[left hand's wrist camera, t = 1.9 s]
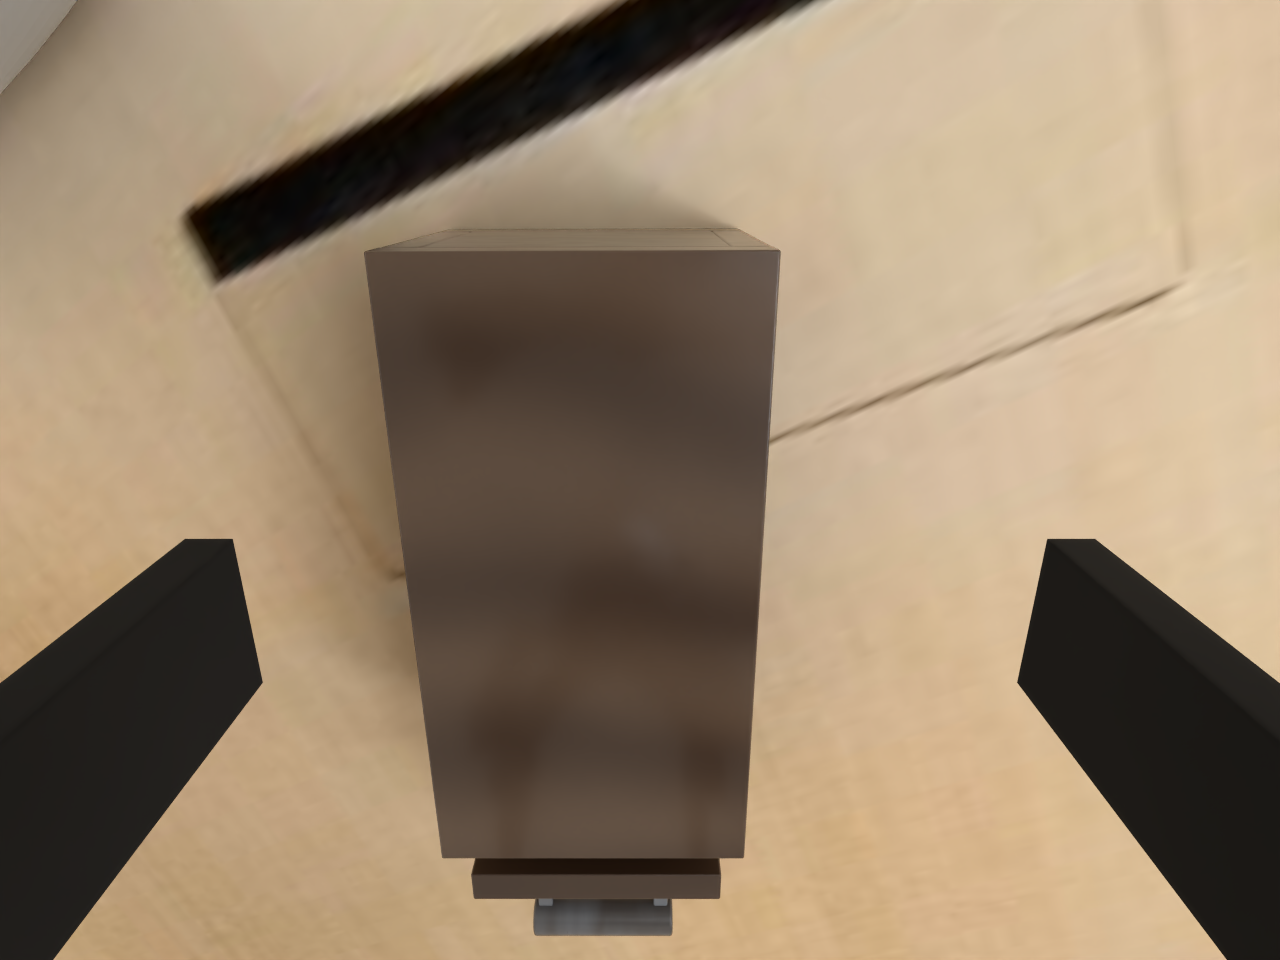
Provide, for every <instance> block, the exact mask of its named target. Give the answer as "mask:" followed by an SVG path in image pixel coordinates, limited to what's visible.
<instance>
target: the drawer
mask: <svg viewBox="0 0 1280 960" xmlns="http://www.w3.org/2000/svg"><path fill="white" fill-rule="evenodd" d="M471 877H472V886H473V894H474V898H475V899H535V905H534V919H533V927H534V934H535V935H536V936H671V935H672V899H719V898H720V887H721V870H720V861H719V858H475V862H474V866H473V870H472V874H471Z"/></svg>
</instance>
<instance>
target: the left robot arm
mask: <svg viewBox="0 0 1280 960" xmlns="http://www.w3.org/2000/svg"><path fill="white" fill-rule="evenodd" d="M262 683H263V682H262V677H261V672H260V667H259V662H258V658H257V653H256V648H255V643H254V639H253V634H252V629H251V624H250V620H249V615H248V610H247V605H246V600H245V596H244V591H243V586H242V581H241V577H240V572H239V567H238V562H237V558H236V553H235V548H234V543H233V539H184V540H183V541H182V542H181V543H179V544H178V545H177V546H175V547H174V548H173V549H172V550H170V551H169V552H168V553H167V554H165V555H164V556H163V557H161V558H160V559H159V560H158V561H156V562H155V563H154V564H152V565H151V566H150V567H149V568H147V569H146V570H145V571H143V572H142V573H141V574H140V575H138V576H137V577H136V578H134V579H133V580H132V581H131V582H129V583H128V584H127V585H126V586H124V587H123V588H122V589H120V590H119V591H118V592H117V593H115V594H114V595H113V596H111V597H110V598H109V599H108V600H106V601H105V602H104V603H102V604H101V605H100V606H99V607H97V608H96V609H95V610H94V611H92V612H91V613H90V614H88V615H87V616H86V617H85V618H83V619H82V620H81V621H79V622H78V623H77V624H76V625H74V626H73V627H72V628H70V629H69V630H68V631H67V632H65V633H64V634H63V635H61V636H60V637H59V638H58V639H56V640H55V641H54V642H53V643H51V644H50V645H49V646H47V647H46V648H45V649H44V650H42V651H41V652H40V653H38V654H37V655H36V656H35V657H33V658H32V659H31V660H29V661H28V662H27V663H26V664H24V665H23V666H22V667H21V668H19V669H18V670H17V671H15V672H14V673H13V674H12V675H10V676H9V677H8V678H6V679H5V680H4V681H3V682H1V683H0V960H53V959H54V958H55V957H56V955H57V954H58V953H59V951H60V950H61V949H62V947H63V946H64V945H65V943H66V942H67V941H68V939H69V938H70V937H71V935H72V934H73V933H74V931H75V930H76V929H77V927H78V926H79V925H80V923H81V922H82V921H83V920H84V918H85V917H86V916H87V914H88V913H89V912H90V910H91V909H92V908H93V906H94V905H95V904H96V902H97V901H98V900H99V898H100V897H101V896H102V894H103V893H104V892H105V890H106V889H107V888H108V886H109V885H110V884H111V882H112V881H113V880H114V879H115V877H116V876H117V875H118V873H119V872H120V871H121V869H122V868H123V867H124V865H125V864H126V863H127V861H128V860H129V859H130V857H131V856H132V855H133V853H134V852H135V851H136V849H137V848H138V847H139V845H140V844H141V843H142V842H143V840H144V839H145V838H146V836H147V835H148V834H149V832H150V831H151V830H152V828H153V827H154V826H155V824H156V823H157V822H158V820H159V819H160V818H161V816H162V815H163V814H164V812H165V811H166V810H167V808H168V807H169V806H170V804H171V803H172V802H173V801H174V799H175V798H176V797H177V795H178V794H179V793H180V791H181V790H182V789H183V787H184V786H185V785H186V783H187V782H188V781H189V779H190V778H191V777H192V775H193V774H194V773H195V771H196V770H197V769H198V767H199V766H200V765H201V764H202V762H203V761H204V760H205V758H206V757H207V756H208V754H209V753H210V752H211V750H212V749H213V748H214V746H215V745H216V744H217V742H218V741H219V740H220V738H221V737H222V736H223V734H224V733H225V732H226V730H227V729H228V728H229V726H230V725H231V724H232V723H233V721H234V720H235V719H236V717H237V716H238V715H239V713H240V712H241V711H242V709H243V708H244V707H245V705H246V704H247V703H248V701H249V700H250V699H251V697H252V696H253V695H254V693H255V692H256V691H257V689H258V688H259V687H260V686H261V684H262ZM1017 683H1018V684H1019V686H1020V687H1021V688H1022V689H1023V691H1024V692H1025V693H1026V695H1027V696H1028V697H1029V699H1030V700H1031V701H1032V703H1033V704H1034V705H1035V707H1036V708H1037V709H1038V711H1039V712H1040V713H1041V715H1042V716H1043V717H1044V719H1045V720H1046V721H1047V723H1048V724H1049V725H1050V727H1051V728H1052V729H1053V730H1054V732H1055V733H1056V734H1057V736H1058V737H1059V738H1060V740H1061V741H1062V742H1063V744H1064V745H1065V746H1066V748H1067V749H1068V750H1069V752H1070V753H1071V754H1072V756H1073V757H1074V758H1075V760H1076V761H1077V762H1078V764H1079V765H1080V766H1081V767H1082V769H1083V770H1084V771H1085V773H1086V774H1087V775H1088V777H1089V778H1090V779H1091V781H1092V782H1093V783H1094V785H1095V786H1096V787H1097V789H1098V790H1099V791H1100V793H1101V794H1102V795H1103V797H1104V798H1105V799H1106V801H1107V802H1108V803H1109V805H1110V806H1111V807H1112V808H1113V810H1114V811H1115V812H1116V814H1117V815H1118V816H1119V818H1120V819H1121V820H1122V822H1123V823H1124V824H1125V826H1126V827H1127V828H1128V830H1129V831H1130V832H1131V834H1132V835H1133V836H1134V838H1135V839H1136V840H1137V842H1138V843H1139V844H1140V845H1141V847H1142V848H1143V849H1144V851H1145V852H1146V853H1147V855H1148V856H1149V857H1150V859H1151V860H1152V861H1153V863H1154V864H1155V865H1156V867H1157V868H1158V869H1159V871H1160V872H1161V873H1162V875H1163V876H1164V877H1165V879H1166V880H1167V881H1168V883H1169V884H1170V885H1171V886H1172V888H1173V889H1174V890H1175V892H1176V893H1177V894H1178V896H1179V897H1180V898H1181V900H1182V901H1183V902H1184V904H1185V905H1186V906H1187V908H1188V909H1189V910H1190V912H1191V913H1192V914H1193V916H1194V917H1195V918H1196V920H1197V921H1198V922H1199V923H1200V925H1201V926H1202V927H1203V929H1204V930H1205V931H1206V933H1207V934H1208V935H1209V937H1210V938H1211V939H1212V941H1213V942H1214V943H1215V945H1216V946H1217V947H1218V949H1219V950H1220V951H1221V953H1222V954H1223V955H1224V957H1225V958H1226V959H1227V960H1280V683H1279V682H1277V681H1276V680H1275V679H1274V678H1272V677H1271V676H1270V675H1268V674H1267V673H1266V672H1265V671H1263V670H1262V669H1261V668H1259V667H1258V666H1257V665H1256V664H1254V663H1253V662H1252V661H1251V660H1249V659H1248V658H1247V657H1245V656H1244V655H1243V654H1242V653H1240V652H1239V651H1238V650H1236V649H1235V648H1234V647H1233V646H1231V645H1230V644H1229V643H1227V642H1226V641H1225V640H1224V639H1222V638H1221V637H1220V636H1219V635H1217V634H1216V633H1215V632H1213V631H1212V630H1211V629H1210V628H1208V627H1207V626H1206V625H1204V624H1203V623H1202V622H1201V621H1199V620H1198V619H1197V618H1195V617H1194V616H1193V615H1192V614H1190V613H1189V612H1188V611H1186V610H1185V609H1184V608H1183V607H1181V606H1180V605H1179V604H1178V603H1176V602H1175V601H1174V600H1172V599H1171V598H1170V597H1169V596H1167V595H1166V594H1165V593H1163V592H1162V591H1161V590H1160V589H1158V588H1157V587H1156V586H1154V585H1153V584H1152V583H1151V582H1149V581H1148V580H1147V579H1146V578H1144V577H1143V576H1142V575H1140V574H1139V573H1138V572H1137V571H1135V570H1134V569H1133V568H1131V567H1130V566H1129V565H1128V564H1126V563H1125V562H1124V561H1122V560H1121V559H1120V558H1119V557H1117V556H1116V555H1115V554H1113V553H1112V552H1111V551H1110V550H1108V549H1107V548H1106V547H1105V546H1103V545H1102V544H1101V543H1099V542H1098V541H1097V540H1096V539H1047V543H1046V548H1045V553H1044V558H1043V562H1042V567H1041V572H1040V577H1039V581H1038V586H1037V591H1036V596H1035V600H1034V605H1033V610H1032V615H1031V620H1030V624H1029V629H1028V634H1027V639H1026V643H1025V648H1024V653H1023V658H1022V662H1021V667H1020V672H1019V677H1018V682H1017Z"/></svg>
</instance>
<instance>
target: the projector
mask: <svg viewBox="0 0 1280 960" xmlns="http://www.w3.org/2000/svg"><path fill="white" fill-rule="evenodd" d="M76 1H77V0H0V94H1V93H2V92H3V91H4V89H5V88H6V87H7V86H8V85H9V84H10V83H11V82H12V80H13V79H14V78H15V77H16V76H17V75H18V74H19V73H20V72H21V70H22V69H23V68H24V67H25V66H26V65H27V64H28V63H29V61H30V60H31V59H32V58H33V57H34V56H35V54H36V53H37V52H38V51H39V49H40V48H41V47H42V46H43V44H44V43H45V42H46V40H47V39H48V38H49V37H50V35H51V34H52V33H53V32H54V30H55V29H56V28H57V27H58V25H59V24H60V23H61V22H62V20H63V19H64V18H65V17H66V15H67V14H68V12H69V11H70V10H71V8H72V7H73V5H74V4H75V3H76Z"/></svg>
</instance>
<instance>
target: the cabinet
mask: <svg viewBox="0 0 1280 960" xmlns="http://www.w3.org/2000/svg"><path fill="white" fill-rule="evenodd" d="M364 255H365V263H366V271H367V279H368V286H369V294H370V302H371V310H372V317H373V325H374V333H375V341H376V348H377V356H378V364H379V372H380V379H381V387H382V395H383V403H384V410H385V418H386V426H387V434H388V441H389V449H390V457H391V465H392V472H393V480H394V488H395V496H396V503H397V511H398V519H399V527H400V534H401V542H402V550H403V558H404V565H405V573H406V581H407V589H408V596H409V604H410V612H411V620H412V627H413V635H414V643H415V651H416V658H417V666H418V674H419V682H420V689H421V697H422V705H423V713H424V720H425V728H426V736H427V744H428V751H429V759H430V767H431V775H432V782H433V790H434V798H435V806H436V813H437V821H438V829H439V836H440V844H441V852H442V858H744V848H745V831H746V815H747V798H748V782H749V765H750V749H751V732H752V716H753V699H754V683H755V667H756V650H757V634H758V617H759V601H760V584H761V568H762V551H763V535H764V518H765V502H766V485H767V469H768V453H769V436H770V420H771V403H772V387H773V370H774V354H775V337H776V321H777V304H778V288H779V272H780V255H781V252H780V250H778V249H776V248H774V247H772V246H770V245H768V244H766V243H764V242H762V241H760V240H758V239H756V238H755V237H753V236H751V235H749V234H747V233H745V232H743V231H741V230H739V229H507V230H445V231H442V232H438V233H434V234H431V235H427V236H423V237H419V238H415V239H412V240H408V241H404V242H400V243H397V244H393V245H389V246H385V247H382V248H376V249H372V250H369V251H365V253H364Z"/></svg>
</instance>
